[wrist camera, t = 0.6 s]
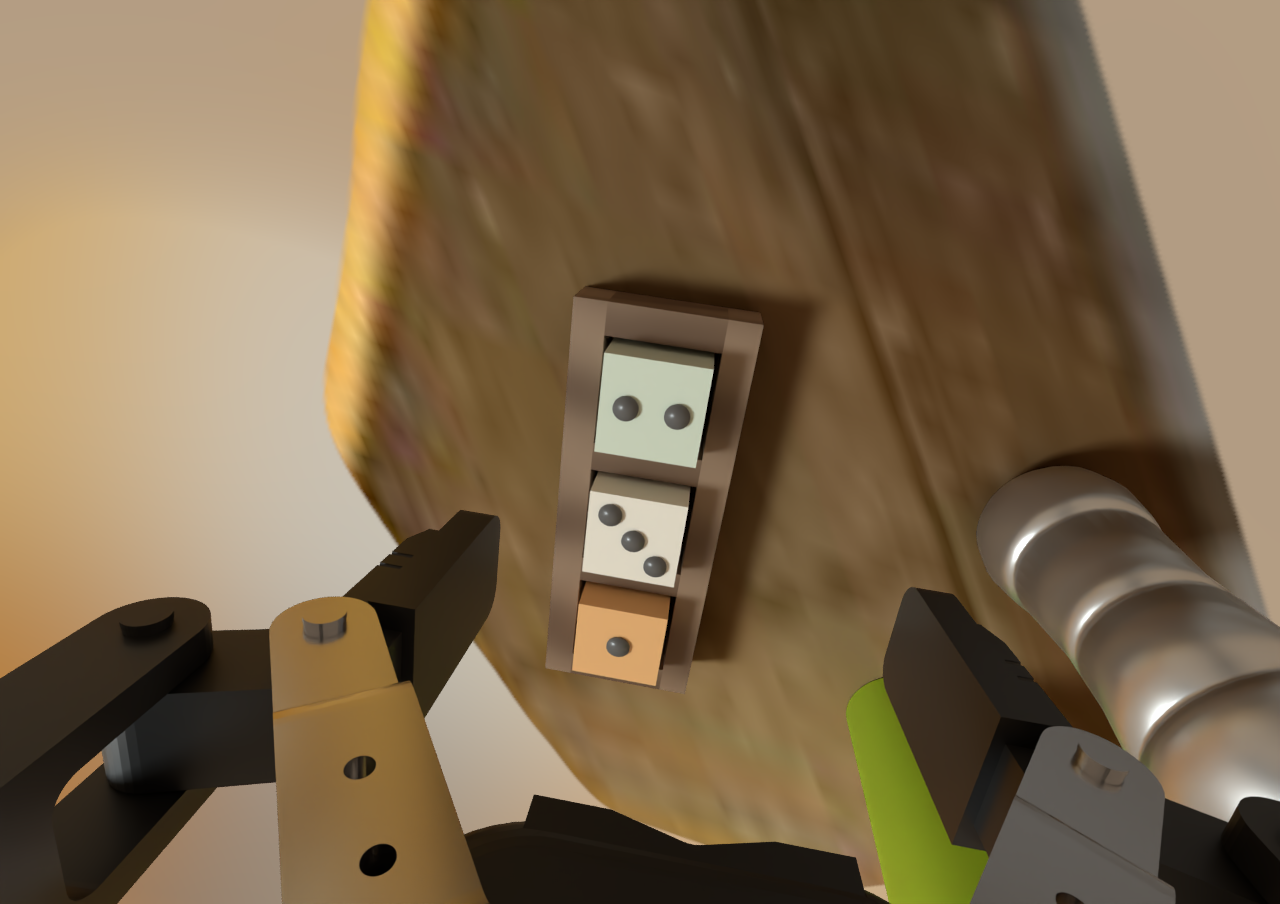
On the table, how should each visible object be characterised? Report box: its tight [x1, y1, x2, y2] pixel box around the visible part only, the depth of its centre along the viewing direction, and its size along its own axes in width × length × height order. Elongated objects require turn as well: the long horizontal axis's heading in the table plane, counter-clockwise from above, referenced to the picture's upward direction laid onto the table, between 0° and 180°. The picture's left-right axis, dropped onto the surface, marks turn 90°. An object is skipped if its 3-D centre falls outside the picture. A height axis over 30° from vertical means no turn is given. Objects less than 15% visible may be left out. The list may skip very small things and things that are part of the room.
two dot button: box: [594, 337, 714, 468], centre depth 27 cm, size 4×4×3 cm
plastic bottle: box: [976, 466, 1280, 822], centre depth 20 cm, size 6×7×20 cm
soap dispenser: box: [846, 678, 989, 904], centre depth 27 cm, size 6×7×20 cm
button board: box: [546, 286, 764, 694], centre depth 31 cm, size 21×8×2 cm, turn 173°
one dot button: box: [572, 581, 671, 686], centre depth 32 cm, size 4×4×3 cm
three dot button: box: [582, 471, 690, 587], centre depth 30 cm, size 4×4×3 cm
